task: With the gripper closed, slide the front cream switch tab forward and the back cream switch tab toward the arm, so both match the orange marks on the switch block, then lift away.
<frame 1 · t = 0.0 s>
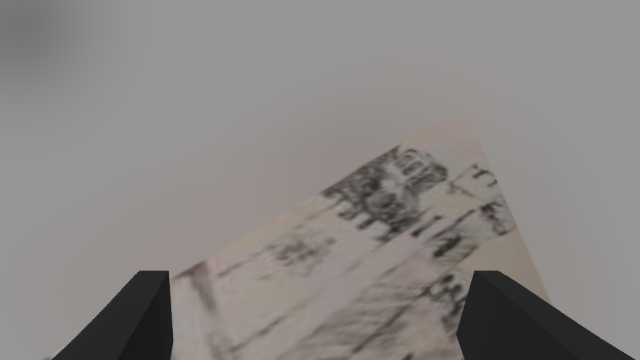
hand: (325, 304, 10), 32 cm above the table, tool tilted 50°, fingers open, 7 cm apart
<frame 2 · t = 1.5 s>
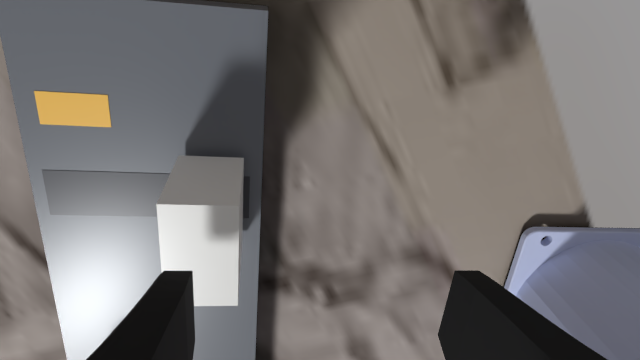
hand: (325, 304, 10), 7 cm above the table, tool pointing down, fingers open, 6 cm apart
switch block: (170, 279, 18), on the table
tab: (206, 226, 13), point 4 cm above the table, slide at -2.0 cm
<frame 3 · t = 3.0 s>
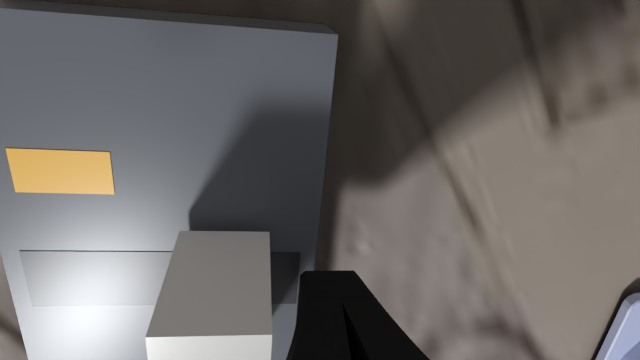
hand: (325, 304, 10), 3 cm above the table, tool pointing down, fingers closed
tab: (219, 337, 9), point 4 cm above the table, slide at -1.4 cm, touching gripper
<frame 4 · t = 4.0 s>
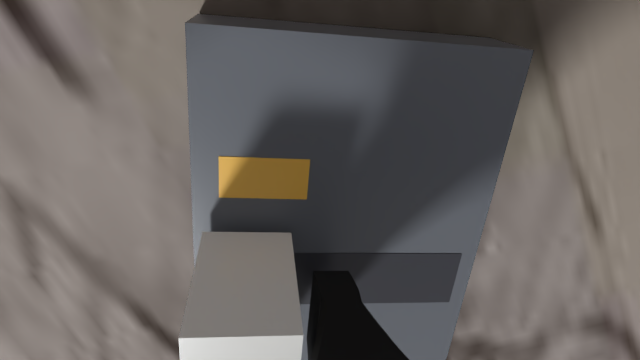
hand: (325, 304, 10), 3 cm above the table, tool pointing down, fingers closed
switch block: (313, 359, 15), on the table
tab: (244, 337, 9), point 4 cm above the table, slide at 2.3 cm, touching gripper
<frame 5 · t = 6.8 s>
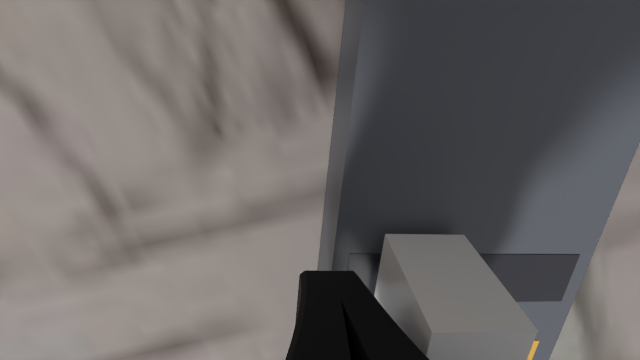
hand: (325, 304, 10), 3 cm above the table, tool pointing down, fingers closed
switch block: (473, 76, 11), on the table
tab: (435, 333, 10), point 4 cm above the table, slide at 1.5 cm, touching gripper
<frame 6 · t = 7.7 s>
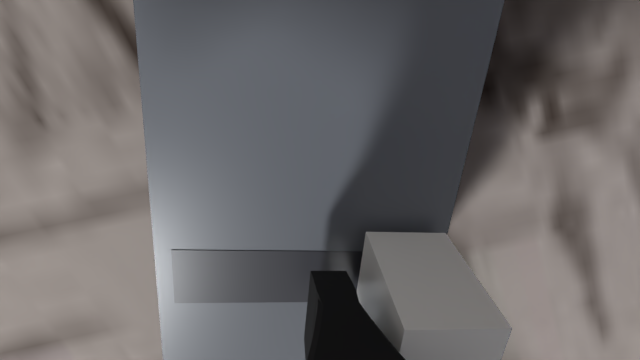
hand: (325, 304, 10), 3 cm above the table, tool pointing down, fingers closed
switch block: (310, 64, 11), on the table
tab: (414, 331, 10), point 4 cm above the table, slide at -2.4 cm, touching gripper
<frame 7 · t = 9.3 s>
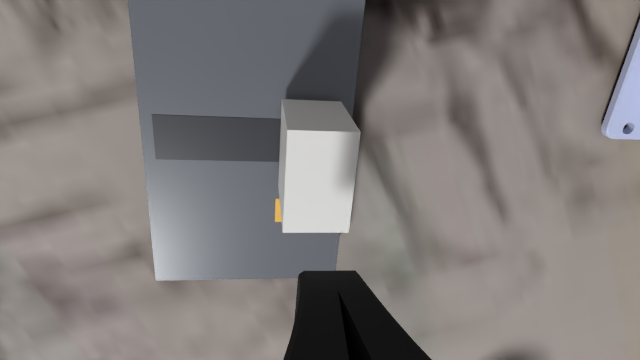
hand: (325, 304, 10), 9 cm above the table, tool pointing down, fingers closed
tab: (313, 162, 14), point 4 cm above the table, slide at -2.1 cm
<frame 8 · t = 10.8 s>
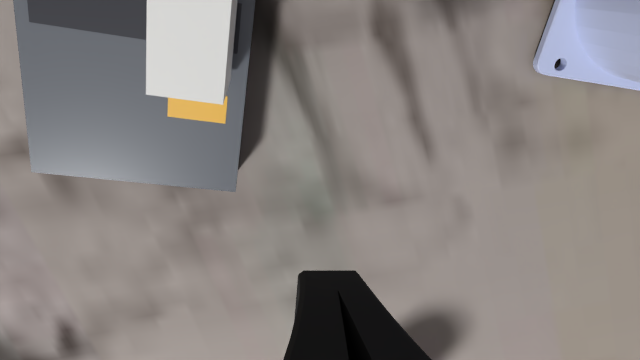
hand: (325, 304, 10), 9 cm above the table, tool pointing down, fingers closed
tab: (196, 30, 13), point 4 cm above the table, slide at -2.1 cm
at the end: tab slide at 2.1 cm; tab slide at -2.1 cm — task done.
